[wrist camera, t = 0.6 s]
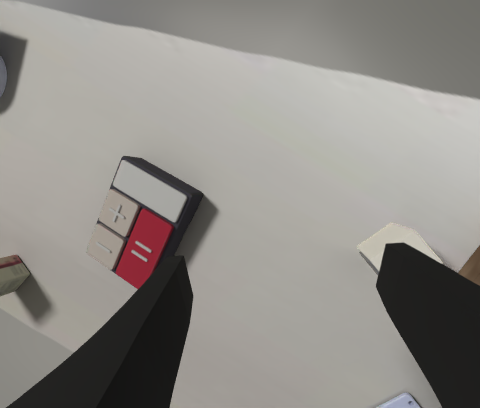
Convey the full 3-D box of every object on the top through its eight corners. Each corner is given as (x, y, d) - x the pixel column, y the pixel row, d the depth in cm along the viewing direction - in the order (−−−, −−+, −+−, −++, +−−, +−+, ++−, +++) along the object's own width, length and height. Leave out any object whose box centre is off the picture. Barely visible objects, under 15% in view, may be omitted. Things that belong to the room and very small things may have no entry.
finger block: (413, 248, 28) (443, 262, 22) (375, 272, 29) (394, 293, 23) (391, 222, 28) (414, 229, 22) (354, 247, 29) (367, 260, 23)
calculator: (79, 254, 34) (117, 153, 31) (104, 246, 38) (140, 156, 35) (143, 298, 32) (190, 195, 29) (162, 285, 36) (205, 193, 33)
